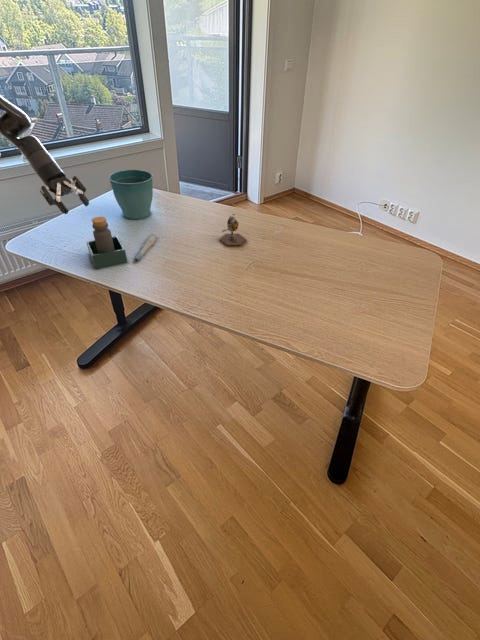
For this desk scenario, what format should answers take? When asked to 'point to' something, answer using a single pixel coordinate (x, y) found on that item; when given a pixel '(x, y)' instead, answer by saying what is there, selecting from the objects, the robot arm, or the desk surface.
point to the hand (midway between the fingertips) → (77, 208)
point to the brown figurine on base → (232, 238)
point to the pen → (146, 245)
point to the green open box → (107, 254)
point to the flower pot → (133, 192)
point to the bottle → (102, 235)
